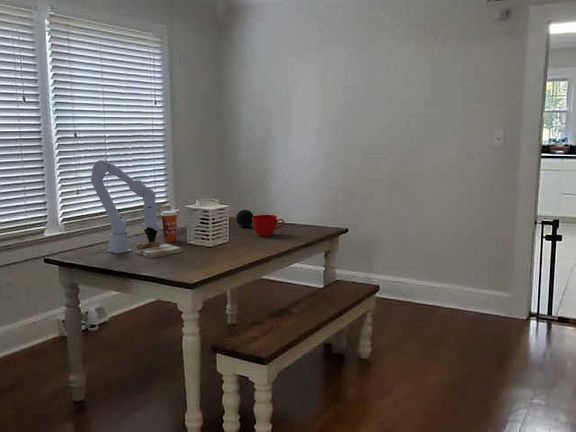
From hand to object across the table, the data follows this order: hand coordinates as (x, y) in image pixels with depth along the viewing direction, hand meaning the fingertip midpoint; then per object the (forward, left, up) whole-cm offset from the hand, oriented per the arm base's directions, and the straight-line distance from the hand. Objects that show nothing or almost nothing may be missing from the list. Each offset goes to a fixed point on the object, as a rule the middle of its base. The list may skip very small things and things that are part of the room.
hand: (151, 243), depth 286 cm
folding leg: (+3, -4, -1) cm, 5 cm away
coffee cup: (-12, +17, -3) cm, 21 cm away
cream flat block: (+8, -2, -3) cm, 9 cm away
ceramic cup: (+15, +60, -3) cm, 63 cm away
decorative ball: (-13, +67, -3) cm, 69 cm away
